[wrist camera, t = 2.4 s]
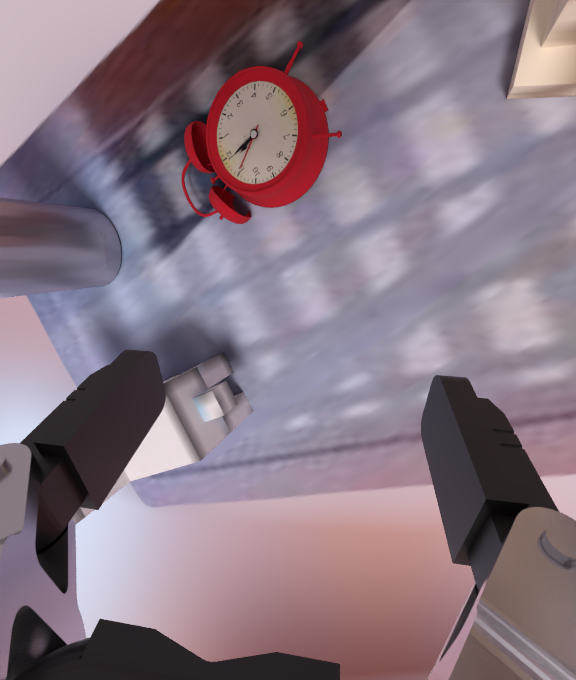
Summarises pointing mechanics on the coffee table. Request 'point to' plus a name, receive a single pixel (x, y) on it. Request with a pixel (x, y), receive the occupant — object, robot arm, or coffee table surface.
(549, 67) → the stand
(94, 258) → the robot arm
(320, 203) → the coffee table surface
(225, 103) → the alarm clock
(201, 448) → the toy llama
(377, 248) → the coffee table surface
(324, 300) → the coffee table surface
